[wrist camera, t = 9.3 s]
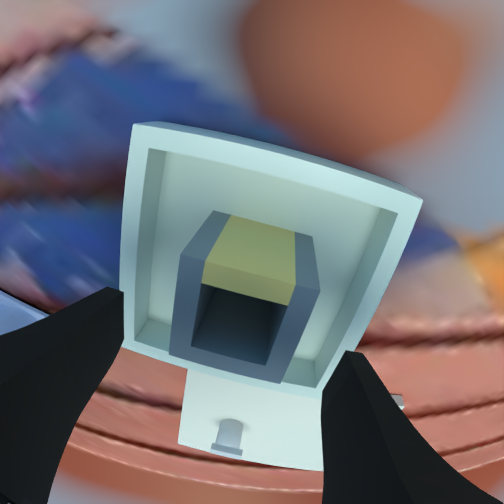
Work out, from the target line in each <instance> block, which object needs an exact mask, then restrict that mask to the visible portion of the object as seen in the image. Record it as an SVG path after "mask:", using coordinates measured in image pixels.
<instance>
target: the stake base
mask: <svg viewBox="0 0 504 504" xmlns="http://www.w3.org/2000/svg"><path fill="white" fill-rule="evenodd" d="M391 396H392V397H393V399H394V400H395V402H396V403H397V405H398V406H399V407H400V409H401V410H402V409H403V408H404V407H405V406H404V402H403V399H402V396H401V395H392V394H391ZM321 401H322V400H321V399H315V398H309V397H304V396H298V395H293V394H288V393H283V392H278V391H273V390H268V389H264V388H259V387H255V386H250V385H246V384H242V383H238V382H234V381H230V380H226V379H222V378H218V377H215V376H211V375H207V374H204V373H200V372H197V371H193V370H190V369H188V372H187V379H186V385H185V392H184V400H183V407H182V414H181V422H180V430H179V438H178V444H182V445H185V446H189V447H192V448H196V449H199V450H203V451H207V452H210V453H213V454H217V455H221V456H226V457H230V458H235V459H239V460H240V459H242V460H247V461H252V462H257V463H263V464H269V465H275V466H282V467H289V468H297V469H306V470H316V471H323V452H322V435H321Z"/></svg>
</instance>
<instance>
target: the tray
mask: <svg viewBox="0 0 504 504" xmlns="http://www.w3.org/2000/svg"><path fill="white" fill-rule="evenodd" d="M422 203H423V200H422V199H421V198H420V197H418V196H417V195H416V194H414V193H413V192H411V191H410V190H409V189H407V188H406V187H404V186H403V185H402V184H399V183H396V182H394V181H391V180H388V179H385V178H382V177H380V176H377V175H374V174H371V173H368V172H365V171H362V170H359V169H356V168H353V167H350V166H347V165H344V164H341V163H337V162H334V161H331V160H328V159H324V158H321V157H317V156H314V155H311V154H307V153H304V152H300V151H296V150H293V149H289V148H285V147H281V146H278V145H274V144H270V143H266V142H262V141H258V140H254V139H249V138H245V137H241V136H236V135H232V134H227V133H222V132H218V131H213V130H208V129H203V128H198V127H192V126H187V125H181V124H175V123H170V122H163V121H154V122H145V123H136V124H133V128H132V135H131V142H130V149H129V156H128V164H127V172H126V181H125V191H124V202H123V214H122V228H121V247H120V281H119V291H122V292H124V341H123V343H122V345H121V347H124V348H126V349H129V350H132V351H135V352H137V353H140V354H143V355H146V356H149V357H152V358H155V359H158V360H161V361H164V362H167V363H170V364H174V365H177V366H180V367H183V368H187V369H190V370H193V371H197V372H200V373H204V374H207V375H211V376H215V377H218V378H222V379H226V380H230V381H234V382H238V383H242V384H246V385H250V386H255V387H259V388H264V389H268V390H273V391H278V392H283V393H288V394H293V395H298V396H304V397H309V398H315V399H321V400H322V390H323V389H324V387H325V385H326V384H327V382H328V380H329V379H330V377H331V375H332V373H333V372H334V370H335V368H336V366H337V365H338V363H339V361H340V359H341V357H342V356H343V354H344V352H345V350H348V351H353V352H354V350H355V348H356V346H357V345H358V343H359V341H360V339H361V337H362V335H363V334H364V332H365V330H366V328H367V326H368V324H369V322H370V320H371V318H372V316H373V314H374V313H375V311H376V309H377V307H378V305H379V303H380V301H381V298H382V296H383V294H384V292H385V290H386V288H387V286H388V284H389V282H390V280H391V277H392V275H393V273H394V271H395V269H396V266H397V264H398V262H399V260H400V257H401V255H402V253H403V250H404V248H405V246H406V243H407V241H408V238H409V236H410V234H411V231H412V229H413V226H414V224H415V221H416V218H417V216H418V213H419V211H420V208H421V205H422ZM213 210H214V211H218V212H222V213H226V214H230V215H234V216H238V217H242V218H245V219H249V220H253V221H257V222H261V223H265V224H268V225H272V226H276V227H280V228H283V229H287V230H291V231H294V232H298V233H302V234H305V235H309V236H312V237H313V243H314V250H315V256H316V263H317V269H318V276H319V283H320V294H319V296H318V299H317V301H316V304H315V306H314V308H313V311H312V313H311V316H310V318H309V320H308V323H307V325H306V328H305V330H304V332H303V335H302V337H301V339H300V342H299V344H298V346H297V348H296V351H295V353H294V355H293V357H292V360H291V362H290V364H289V366H288V368H287V371H286V373H285V375H284V377H283V379H282V381H281V384H277V383H273V382H268V381H264V380H259V379H255V378H251V377H246V376H242V375H238V374H234V373H230V372H227V371H223V370H219V369H215V368H212V367H208V366H204V365H201V364H197V363H194V362H191V361H187V360H184V359H181V358H177V357H174V356H171V355H169V344H170V334H171V324H172V315H173V306H174V298H175V290H176V282H177V274H178V267H179V260H180V254H181V252H182V251H183V250H184V248H185V247H186V246H187V244H188V243H189V242H190V240H191V239H192V238H193V236H194V235H195V234H196V232H197V231H198V230H199V228H200V227H201V226H202V224H203V223H204V222H205V220H206V219H207V218H208V217H209V215H210V214H211V213H212V211H213Z"/></svg>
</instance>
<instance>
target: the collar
mask: <svg viewBox="0 0 504 504" xmlns="http://www.w3.org/2000/svg"><path fill="white" fill-rule="evenodd" d="M319 294H320V283H319V276H318V269H317V263H316V256H315V250H314V243H313V237H312V236H309V235H305V234H302V233H298V232H294V231H291V230H287V229H283V228H280V227H276V226H272V225H268V224H265V223H261V222H257V221H253V220H249V219H245V218H242V217H238V216H234V215H230V214H226V213H222V212H218V211H214V210H213V211H212V213H211V214H210V215H209V217H208V218H207V219H206V220H205V222H204V223H203V224H202V226H201V227H200V228H199V230H198V231H197V232H196V234H195V235H194V236H193V238H192V239H191V240H190V242H189V243H188V244H187V246H186V247H185V248H184V250H183V251H182V252H181V254H180V260H179V267H178V274H177V282H176V290H175V298H174V306H173V315H172V324H171V334H170V344H169V355H171V356H174V357H177V358H181V359H184V360H187V361H191V362H194V363H197V364H201V365H204V366H208V367H212V368H215V369H219V370H223V371H227V372H230V373H234V374H238V375H242V376H246V377H251V378H255V379H259V380H264V381H268V382H273V383H277V384H281V381H282V379H283V377H284V375H285V373H286V371H287V368H288V366H289V364H290V362H291V360H292V357H293V355H294V353H295V351H296V348H297V346H298V344H299V342H300V339H301V337H302V335H303V332H304V330H305V328H306V325H307V323H308V320H309V318H310V316H311V313H312V311H313V308H314V306H315V304H316V301H317V299H318V296H319Z"/></svg>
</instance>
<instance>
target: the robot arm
mask: <svg viewBox="0 0 504 504" xmlns="http://www.w3.org/2000/svg"><path fill="white" fill-rule="evenodd" d="M123 341H124V292H122V291H119V290H116V289H113V288H110V287H106V288H104V289H102V290H99V291H97V292H95V293H93V294H91V295H89V296H88V297H86V298H84V299H82V300H80V301H78V302H76V303H74V304H72V305H70V306H68V307H66V308H64V309H62V310H60V311H58V312H56V313H54V314H52V315H48V314H46V313H44V312H42V311H40V310H38V309H36V308H34V307H31V306H29V305H27V304H25V303H23V302H21V301H19V300H17V299H16V298H14V297H12V296H10V295H8V294H6V293H4V292H2V291H0V504H47V502H48V498H49V494H50V490H51V486H52V483H53V480H54V477H55V474H56V471H57V468H58V465H59V462H60V459H61V457H62V454H63V451H64V449H65V447H66V444H67V442H68V439H69V437H70V435H71V433H72V430H73V428H74V426H75V424H76V422H77V420H78V418H79V416H80V414H81V412H82V411H83V409H84V407H85V406H86V404H87V403H88V401H89V400H90V398H91V396H92V395H93V393H94V392H95V390H96V389H97V387H98V385H99V384H100V382H101V381H102V379H103V378H104V376H105V375H106V373H107V372H108V370H109V368H110V367H111V365H112V364H113V362H114V360H115V358H116V356H117V354H118V352H119V349H120V347H121V345H122V343H123ZM321 435H322V452H323V471H324V486H323V498H322V504H503V503H502V502H501V501H499V500H497V499H496V498H494V497H492V496H491V495H489V494H487V493H486V492H484V491H482V490H481V489H479V488H478V487H477V486H475V485H474V484H472V483H471V482H470V481H468V480H467V479H466V478H464V477H463V476H462V475H461V474H460V473H458V472H457V471H456V470H455V469H454V468H453V467H452V466H450V465H449V464H448V463H447V462H446V461H445V460H444V459H443V458H442V457H441V456H440V455H439V454H438V453H437V452H436V451H435V450H434V449H433V448H432V447H431V446H430V445H429V444H428V442H427V441H426V440H425V439H424V438H423V437H422V436H421V435H420V433H419V432H418V431H417V430H416V429H415V427H414V426H413V425H412V423H411V422H410V421H409V419H408V418H407V417H406V416H405V414H404V413H403V412H402V410H401V409H400V407H399V406H398V405H397V403H396V402H395V400H394V399H393V397H392V396H391V394H390V393H389V391H388V390H387V388H386V387H385V386H384V384H383V382H382V381H381V379H380V378H379V376H378V375H377V373H376V372H375V370H374V369H373V367H372V366H371V364H370V363H369V361H368V360H367V359H366V357H365V356H364V354H363V353H359V352H353V351H348V350H345V352H344V354H343V356H342V357H341V359H340V361H339V363H338V365H337V366H336V368H335V370H334V372H333V373H332V375H331V377H330V379H329V380H328V382H327V384H326V385H325V387H324V389H323V390H322V401H321Z"/></svg>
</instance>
